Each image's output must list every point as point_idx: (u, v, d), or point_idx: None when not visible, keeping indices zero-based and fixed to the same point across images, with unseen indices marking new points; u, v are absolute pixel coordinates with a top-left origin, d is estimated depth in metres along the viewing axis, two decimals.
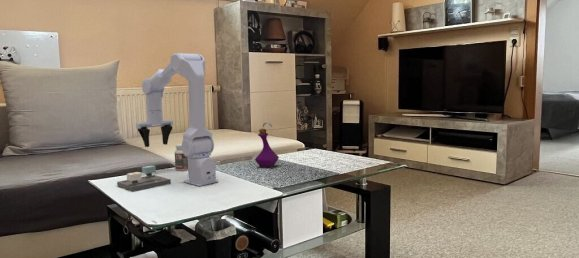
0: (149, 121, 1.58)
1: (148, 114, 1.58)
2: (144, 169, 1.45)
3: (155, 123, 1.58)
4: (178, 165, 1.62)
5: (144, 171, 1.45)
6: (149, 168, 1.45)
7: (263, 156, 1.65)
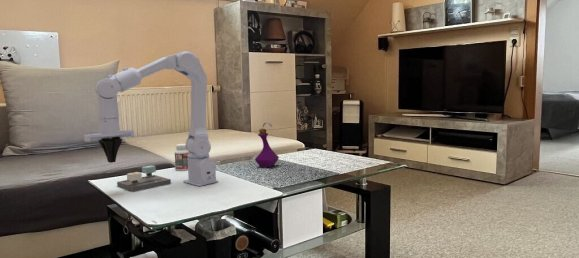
0: (101, 132, 1.26)
1: (100, 123, 1.26)
2: (144, 169, 1.45)
3: (109, 134, 1.26)
4: (178, 165, 1.62)
5: (144, 171, 1.45)
6: (149, 168, 1.45)
7: (263, 156, 1.65)
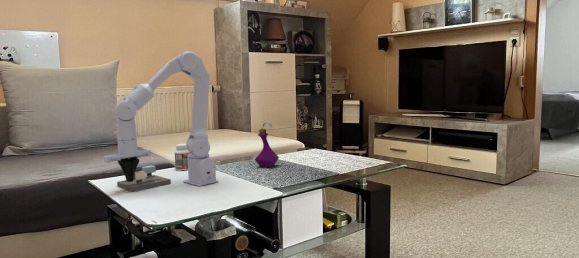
0: (120, 153, 1.31)
1: (119, 144, 1.31)
2: (144, 169, 1.45)
3: (128, 155, 1.31)
4: (178, 165, 1.62)
5: (144, 171, 1.45)
6: (149, 168, 1.45)
7: (263, 156, 1.65)
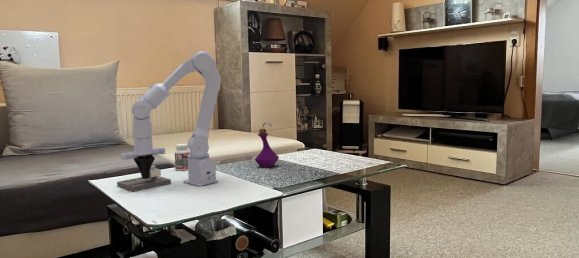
0: (137, 150, 1.35)
1: (136, 142, 1.35)
2: None
3: (144, 153, 1.35)
4: (178, 165, 1.62)
5: None
6: None
7: (263, 156, 1.65)
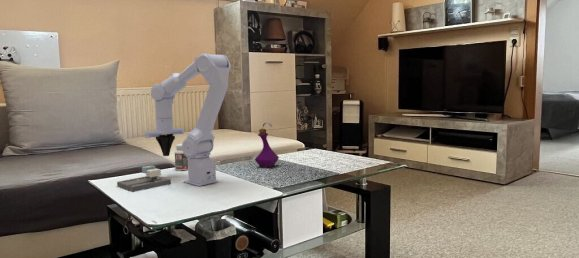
0: (159, 130, 1.47)
1: (158, 122, 1.47)
2: (144, 169, 1.45)
3: (165, 132, 1.47)
4: (178, 165, 1.62)
5: (144, 171, 1.45)
6: (149, 168, 1.45)
7: (263, 156, 1.65)
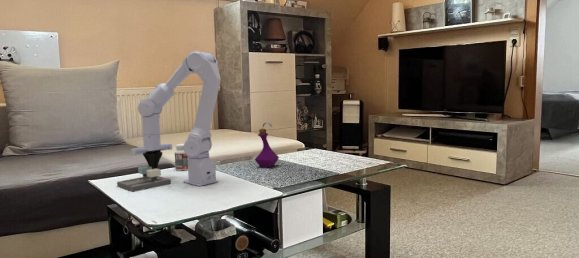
0: (146, 146, 1.44)
1: (145, 138, 1.44)
2: (140, 170, 1.44)
3: (152, 148, 1.44)
4: (178, 165, 1.62)
5: (140, 172, 1.44)
6: (145, 169, 1.44)
7: (263, 157, 1.65)
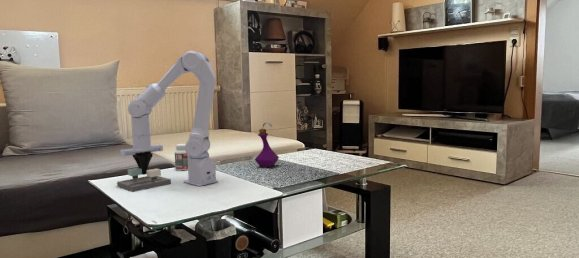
0: (135, 147, 1.41)
1: (134, 140, 1.41)
2: (130, 171, 1.41)
3: (142, 150, 1.41)
4: (178, 165, 1.62)
5: (130, 174, 1.41)
6: (135, 170, 1.41)
7: (263, 156, 1.65)
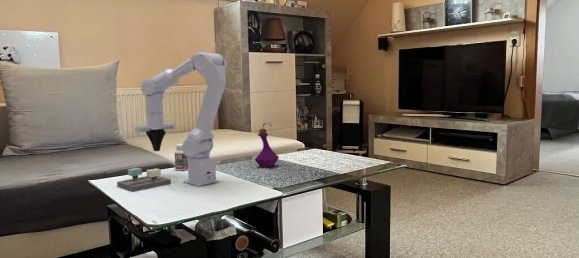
0: (149, 124, 1.47)
1: (148, 117, 1.46)
2: (130, 171, 1.41)
3: (156, 127, 1.46)
4: (178, 165, 1.62)
5: (130, 174, 1.41)
6: (135, 170, 1.41)
7: (263, 156, 1.65)
